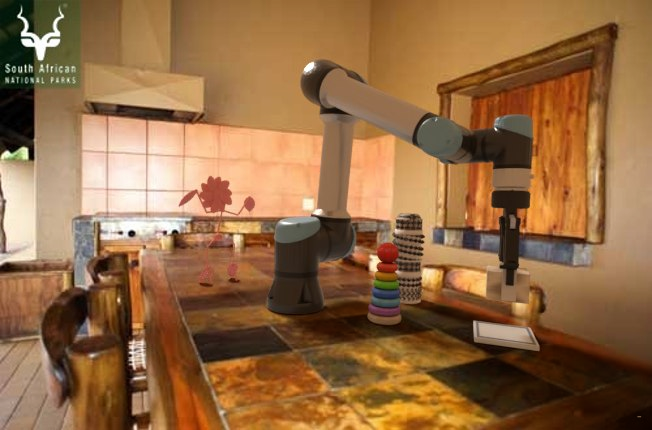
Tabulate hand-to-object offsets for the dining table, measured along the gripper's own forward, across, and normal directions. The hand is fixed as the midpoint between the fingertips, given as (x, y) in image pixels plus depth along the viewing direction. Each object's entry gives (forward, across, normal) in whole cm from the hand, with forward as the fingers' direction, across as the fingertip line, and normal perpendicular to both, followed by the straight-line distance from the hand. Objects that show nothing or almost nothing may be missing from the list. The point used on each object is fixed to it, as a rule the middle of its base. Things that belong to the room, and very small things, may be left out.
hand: (506, 295), depth 85 cm
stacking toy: (+9, 0, +26) cm, 28 cm away
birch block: (0, 0, 0) cm, 0 cm away
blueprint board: (+9, 0, 0) cm, 9 cm away
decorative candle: (+9, +22, +24) cm, 34 cm away
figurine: (+9, +20, +88) cm, 91 cm away
